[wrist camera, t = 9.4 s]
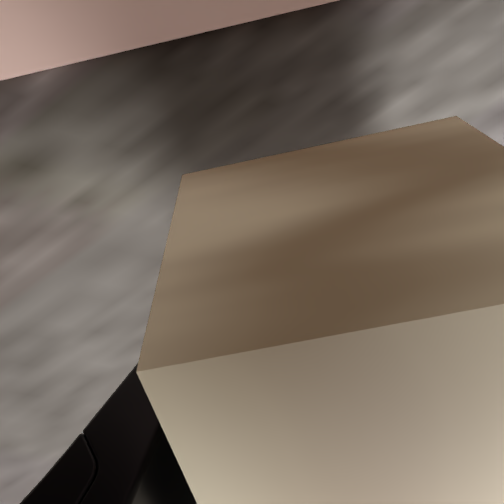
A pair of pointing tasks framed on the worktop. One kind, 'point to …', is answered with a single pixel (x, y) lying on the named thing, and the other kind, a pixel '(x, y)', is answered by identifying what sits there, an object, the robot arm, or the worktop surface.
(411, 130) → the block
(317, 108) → the worktop surface
